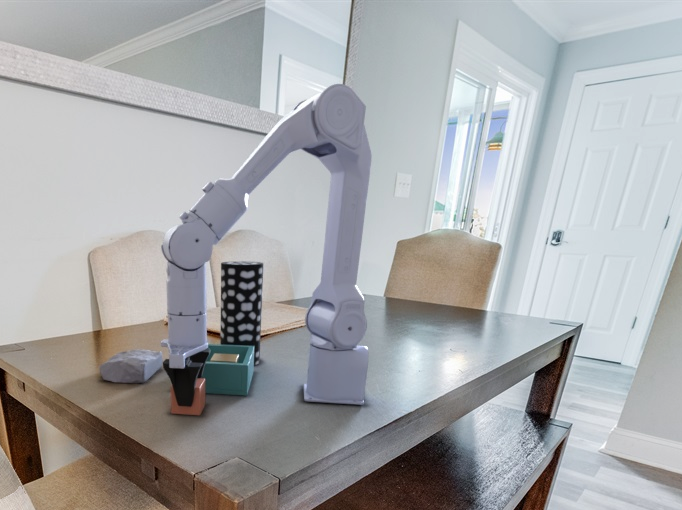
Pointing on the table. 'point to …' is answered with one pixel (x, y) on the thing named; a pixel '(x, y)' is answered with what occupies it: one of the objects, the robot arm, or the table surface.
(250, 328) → the spotted tube
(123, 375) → the stone block
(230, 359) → the maple block
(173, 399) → the coral block
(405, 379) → the table surface
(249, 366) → the teal storage bin
